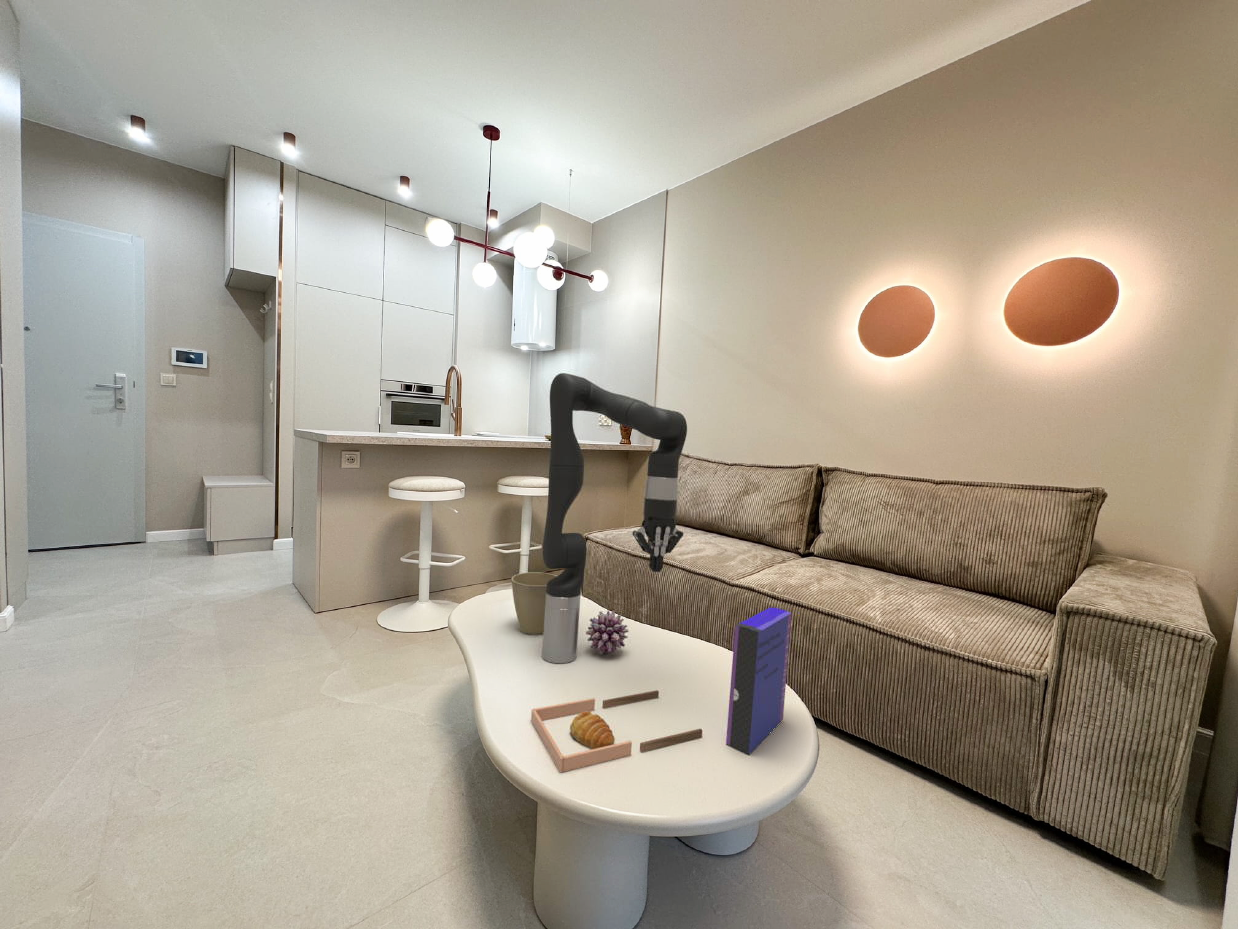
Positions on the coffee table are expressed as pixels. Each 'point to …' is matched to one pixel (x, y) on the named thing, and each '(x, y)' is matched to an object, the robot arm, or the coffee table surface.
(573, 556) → the robot arm
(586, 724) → the pastry
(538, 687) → the coffee table surface
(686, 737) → the walnut chute
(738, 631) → the cereal box
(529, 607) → the plant pot
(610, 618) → the purple spiky ball
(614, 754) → the terracotta pen
